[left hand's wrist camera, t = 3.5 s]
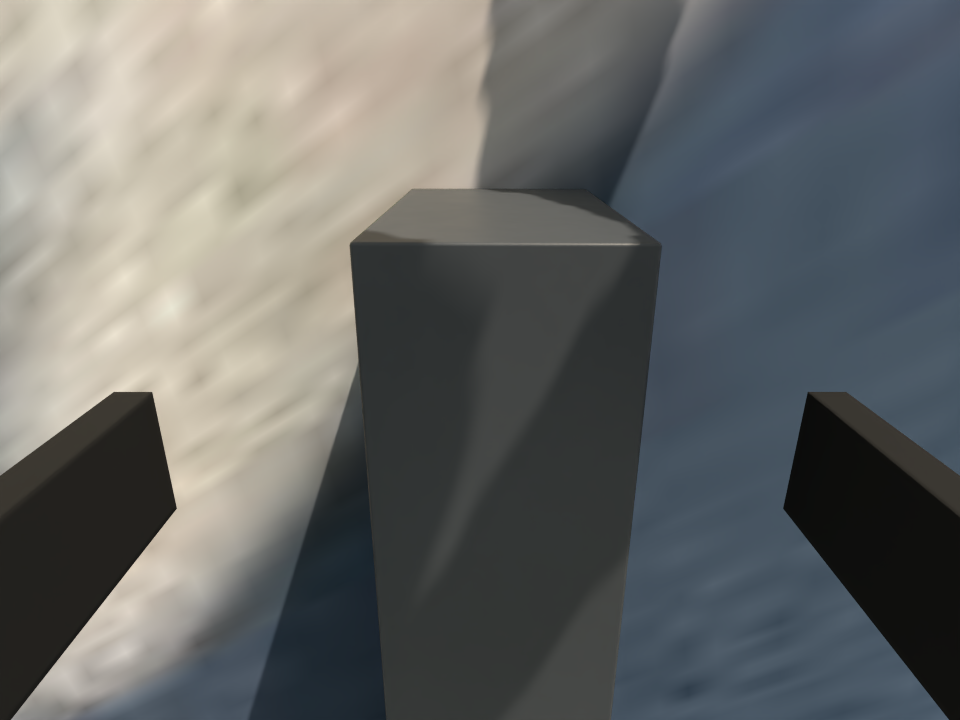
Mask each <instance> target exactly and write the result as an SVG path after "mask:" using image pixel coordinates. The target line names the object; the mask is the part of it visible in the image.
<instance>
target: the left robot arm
mask: <svg viewBox="0 0 960 720" xmlns="http://www.w3.org/2000/svg"><path fill="white" fill-rule="evenodd" d="M176 509H177V508H176V503H175V498H174V493H173V489H172V484H171V479H170V474H169V470H168V465H167V460H166V455H165V451H164V446H163V441H162V436H161V432H160V427H159V422H158V418H157V413H156V408H155V403H154V399H153V394H152V392H113V393H112V394H111V395H109V396H108V397H107V398H105V399H104V400H103V401H101V402H100V403H98V404H97V405H96V406H94V407H93V408H92V409H90V410H89V411H88V412H86V413H85V414H83V415H82V416H81V417H79V418H78V419H77V420H75V421H74V422H73V423H71V424H70V425H69V426H67V427H66V428H64V429H63V430H62V431H60V432H59V433H58V434H56V435H55V436H54V437H52V438H51V439H50V440H48V441H47V442H45V443H44V444H43V445H41V446H40V447H39V448H37V449H36V450H35V451H33V452H32V453H31V454H29V455H28V456H26V457H25V458H24V459H22V460H21V461H20V462H18V463H17V464H16V465H14V466H13V467H12V468H10V469H9V470H7V471H6V472H5V473H3V474H2V475H1V476H0V720H11V719H12V718H13V716H14V715H15V714H16V712H17V711H18V710H19V709H20V707H21V706H22V705H23V704H24V702H25V701H26V700H27V698H28V697H29V696H30V695H31V693H32V692H33V691H34V690H35V688H36V687H37V686H38V684H39V683H40V682H41V681H42V679H43V678H44V677H45V676H46V674H47V673H48V672H49V670H50V669H51V668H52V667H53V665H54V664H55V663H56V662H57V660H58V659H59V658H60V656H61V655H62V654H63V653H64V651H65V650H66V649H67V648H68V646H69V645H70V644H71V642H72V641H73V640H74V639H75V637H76V636H77V635H78V634H79V632H80V631H81V630H82V628H83V627H84V626H85V625H86V623H87V622H88V621H89V620H90V618H91V617H92V616H93V614H94V613H95V612H96V611H97V609H98V608H99V607H100V606H101V604H102V603H103V602H104V600H105V599H106V598H107V597H108V595H109V594H110V593H111V592H112V590H113V589H114V588H115V586H116V585H117V584H118V583H119V581H120V580H121V579H122V578H123V576H124V575H125V574H126V572H127V571H128V570H129V569H130V567H131V566H132V565H133V564H134V562H135V561H136V560H137V558H138V557H139V556H140V555H141V553H142V552H143V551H144V550H145V548H146V547H147V546H148V544H149V543H150V542H151V541H152V539H153V538H154V537H155V536H156V534H157V533H158V532H159V530H160V529H161V528H162V527H163V525H164V524H165V523H166V522H167V520H168V519H169V518H170V516H171V515H172V514H173V513H174V511H175V510H176ZM783 509H784V510H785V511H786V513H787V514H788V515H789V516H790V518H791V519H792V520H793V522H794V523H795V524H796V525H797V527H798V528H799V529H800V530H801V532H802V533H803V534H804V536H805V537H806V538H807V539H808V541H809V542H810V543H811V544H812V546H813V547H814V548H815V550H816V551H817V552H818V553H819V555H820V556H821V557H822V558H823V560H824V561H825V562H826V564H827V565H828V566H829V567H830V569H831V570H832V571H833V572H834V574H835V575H836V576H837V578H838V579H839V580H840V581H841V583H842V584H843V585H844V586H845V588H846V589H847V590H848V592H849V593H850V594H851V595H852V597H853V598H854V599H855V600H856V602H857V603H858V604H859V606H860V607H861V608H862V609H863V611H864V612H865V613H866V614H867V616H868V617H869V618H870V620H871V621H872V622H873V623H874V625H875V626H876V627H877V628H878V630H879V631H880V632H881V634H882V635H883V636H884V637H885V639H886V640H887V641H888V642H889V644H890V645H891V646H892V648H893V649H894V650H895V651H896V653H897V654H898V655H899V656H900V658H901V659H902V660H903V662H904V663H905V664H906V665H907V667H908V668H909V669H910V670H911V672H912V673H913V674H914V676H915V677H916V678H917V679H918V681H919V682H920V683H921V684H922V686H923V687H924V688H925V690H926V691H927V692H928V693H929V695H930V696H931V697H932V698H933V700H934V701H935V702H936V704H937V705H938V706H939V707H940V709H941V710H942V711H943V712H944V714H945V715H946V716H947V718H948V719H949V720H960V476H959V475H958V474H957V473H955V472H954V471H953V470H951V469H950V468H948V467H947V466H946V465H944V464H943V463H942V462H940V461H939V460H938V459H936V458H935V457H934V456H932V455H931V454H929V453H928V452H927V451H925V450H924V449H923V448H921V447H920V446H919V445H917V444H916V443H915V442H913V441H912V440H910V439H909V438H908V437H906V436H905V435H904V434H902V433H901V432H900V431H898V430H897V429H896V428H894V427H893V426H891V425H890V424H889V423H887V422H886V421H885V420H883V419H882V418H881V417H879V416H878V415H876V414H875V413H874V412H872V411H871V410H870V409H868V408H867V407H866V406H864V405H863V404H862V403H860V402H859V401H857V400H856V399H855V398H853V397H852V396H851V395H849V394H848V393H847V392H808V394H807V399H806V403H805V408H804V413H803V417H802V422H801V427H800V432H799V436H798V441H797V446H796V451H795V455H794V460H793V465H792V470H791V474H790V479H789V484H788V489H787V493H786V498H785V503H784V508H783Z"/></svg>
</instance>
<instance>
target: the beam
mask: <svg viewBox="0 0 960 720" xmlns="http://www.w3.org/2000/svg"><path fill="white" fill-rule="evenodd" d="M661 248H662V246H661V243H659V242H658V241H656V240H655V239H654V238H652V237H651V236H650V235H648V234H647V233H645V232H644V231H643V230H641V229H640V228H638V227H637V226H636V225H634V224H633V223H632V222H630V221H629V220H627V219H626V218H625V217H623V216H622V215H620V214H619V213H618V212H616V211H615V210H613V209H612V208H611V207H609V206H608V205H607V204H605V203H604V202H602V201H601V200H600V199H598V198H597V197H595V196H594V195H593V194H591V193H590V192H589V191H587V190H585V189H412V190H411V191H409V192H408V193H407V194H406V195H405V196H404V197H403V198H401V199H400V200H399V201H398V202H397V203H396V204H395V205H393V206H392V207H391V208H390V209H389V210H388V211H386V212H385V213H384V214H383V215H382V216H381V217H380V218H378V219H377V220H376V221H375V222H374V223H373V224H372V225H370V226H369V227H368V228H367V229H366V230H365V231H364V232H362V233H361V234H360V235H359V236H358V237H357V238H355V239H354V240H353V241H352V242H351V243H350V255H351V268H352V281H353V294H354V307H355V320H356V333H357V346H358V359H359V372H360V385H361V398H362V411H363V424H364V437H365V450H366V463H367V476H368V489H369V502H370V515H371V528H372V541H373V554H374V567H375V580H376V593H377V606H378V619H379V632H380V645H381V658H382V671H383V684H384V697H385V710H386V720H611V713H612V704H613V694H614V685H615V676H616V667H617V657H618V648H619V639H620V629H621V620H622V611H623V601H624V592H625V583H626V574H627V564H628V555H629V546H630V536H631V527H632V518H633V509H634V499H635V490H636V481H637V471H638V462H639V453H640V443H641V434H642V425H643V416H644V406H645V397H646V388H647V378H648V369H649V360H650V350H651V341H652V332H653V323H654V313H655V304H656V295H657V285H658V276H659V267H660V257H661Z"/></svg>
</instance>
